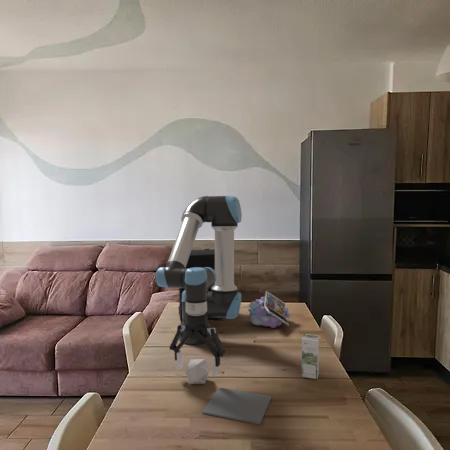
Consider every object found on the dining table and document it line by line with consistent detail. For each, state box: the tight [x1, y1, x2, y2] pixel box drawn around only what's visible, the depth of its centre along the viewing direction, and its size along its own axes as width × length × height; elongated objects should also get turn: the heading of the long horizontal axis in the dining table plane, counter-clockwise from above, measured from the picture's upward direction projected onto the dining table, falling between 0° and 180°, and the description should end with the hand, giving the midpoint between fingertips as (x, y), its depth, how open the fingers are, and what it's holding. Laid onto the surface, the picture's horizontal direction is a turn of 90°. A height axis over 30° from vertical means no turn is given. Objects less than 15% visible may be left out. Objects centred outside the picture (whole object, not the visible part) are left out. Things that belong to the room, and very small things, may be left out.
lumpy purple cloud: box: [247, 290, 292, 329], centre depth 195 cm, size 20×22×18 cm
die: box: [185, 358, 210, 385], centre depth 137 cm, size 8×9×10 cm
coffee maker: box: [178, 248, 225, 323], centre depth 208 cm, size 28×20×35 cm
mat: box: [201, 387, 272, 425], centre depth 122 cm, size 18×15×1 cm
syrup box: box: [301, 333, 320, 380], centre depth 140 cm, size 6×6×14 cm
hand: (197, 372), depth 136 cm, fingers open, 13 cm apart
